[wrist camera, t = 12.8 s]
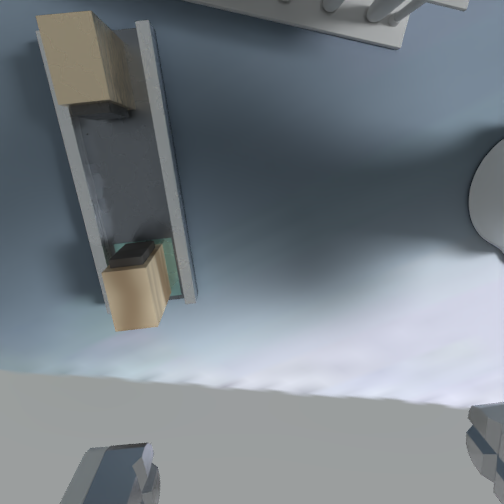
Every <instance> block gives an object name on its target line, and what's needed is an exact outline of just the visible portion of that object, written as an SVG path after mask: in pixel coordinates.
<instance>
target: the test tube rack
mask: <svg viewBox="0 0 504 504" xmlns="http://www.w3.org/2000/svg"><path fill="white" fill-rule="evenodd" d="M183 1H187V2H191V3H196V4H200V5H204V6H209V7H213V8H217V9H222V10H226V11H230V12H235V13H239V14H243V15H248V16H252V17H256V18H261V19H265V20H269V21H274V22H278V23H283V24H287V25H291V26H296V27H300V28H304V29H309V30H313V31H317V32H322V33H326V34H330V35H335V36H339V37H343V38H348V39H352V40H356V41H361V42H365V43H369V44H374V45H378V46H382V47H387V48H391V49H395V50H398V49H400V48H401V45H402V41H403V37H404V33H405V30H406V26H407V22H408V18H409V15H410V13H412V12H413V11H415V10H416V9H417V8H419V7H420V6H421V5H423V4H424V3H426V2H428V3H432V4H436V5H440V6H444V7H448V8H452V9H456V10H460V11H465V10H466V9H467V6H468V3H469V0H183Z"/></svg>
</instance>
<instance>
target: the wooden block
mask: <svg viewBox="0 0 504 504" xmlns="http://www.w3.org/2000/svg"><path fill="white" fill-rule="evenodd" d="M109 264H110V265H109V266H108V267H107V268H106V269H105V270H104V271H103V272H102V273H101V274H102V278H103V282H104V286H105V290H106V294H107V298H108V302H109V306H110V310H111V314H112V318H113V322H114V326H115V331H116V332H117V331H125V330H134V329H142V328H150V327H158V325H159V323H160V320H161V318H162V315H163V312H164V310H165V307H166V305H167V302H168V300H169V297H170V294H171V288H170V283H169V277H168V272H167V266H166V261H165V256H164V250H163V245H162V244H154V241H145V242H136V243H127V244H125V245H124V246H123V247H122V248H121V249H120V250H119V251H118V252H117V253H116V254H115V255H114V256H113V257H111V258H110V259H109Z"/></svg>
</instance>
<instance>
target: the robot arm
mask: <svg viewBox="0 0 504 504" xmlns="http://www.w3.org/2000/svg"><path fill="white" fill-rule="evenodd" d="M469 212H470V217H471V220H472V223H473V225H474V227H475V229H476V230H477V232H478V233H479V234H480V236H481V237H482V238H483V239H485V240H486V241H487V242H489V243H490V244H492V245H494V246H496V247H497V248H499V249H500V250H501V251H502V252H503V254H504V139H503V140H501V141H500V142H499V143H498V144H497V145H496V146H494V147H493V148H492V150H491V151H490V152H489V153H488V154H487V155H486V157H485V158H484V159H483V161H482V162H481V164H480V165H479V167H478V169H477V171H476V173H475V176H474V178H473V181H472V184H471V188H470V193H469ZM468 419H469V420H470V421H471V423H472V424H473V425H472V427H471V428H470V429H469V430H468V431H467V432H466V445H467V449H468V452H469V456H470V458H471V460H472V462H473V464H474V465H475V467H476V468H477V470H478V471H479V472H480V474H481V475H483V476H484V477H486V478H487V479H489V480H490V481H492V482H494V493H495V495H496V496H497V498H498V499H499V501H500V502H501V503H502V504H504V402H499V403H491V404H483V405H475V406H472V407H471V408H470V410H469V414H468ZM153 456H154V451H153V449H152V445H151V444H150V443H139V444H128V445H116V446H109V447H97V448H90V449H89V450H88V451H87V452H86V453H85V454H84V456H83V458H82V460H81V462H80V464H79V466H78V468H77V470H76V472H75V474H74V476H73V478H72V480H71V482H70V484H69V486H68V488H67V491H66V492H65V494H64V496H63V498H62V500H61V502H60V504H158V502H159V496H160V475H159V471H158V467H157V466H156V465H154V464H153V463H152V460H153Z"/></svg>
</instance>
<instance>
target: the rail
mask: <svg viewBox="0 0 504 504" xmlns="http://www.w3.org/2000/svg"><path fill="white" fill-rule="evenodd" d="M36 19H37V23H38V27H39V31H36V35H37V39H38V43H39V47H40V51H41V55H42V59H43V63H44V67H45V70H46V74H47V78H48V82H49V86H50V90H51V94H52V98H53V102H54V106H55V110H56V113H57V117H58V121H59V125H60V129H61V133H62V137H63V141H64V145H65V149H66V153H67V156H68V160H69V164H70V168H71V172H72V176H73V180H74V184H75V188H76V192H77V196H78V199H79V203H80V207H81V211H82V215H83V219H84V223H85V227H86V231H87V235H88V239H89V243H90V246H91V250H92V254H93V258H94V262H95V266H96V270H97V274H98V278H99V282H100V286H101V289H102V293H103V297H104V301H105V305H106V309H107V313H108V314H110V313H111V310H110V306H109V302H108V298H107V294H106V290H105V286H104V282H103V278H102V274H101V273H102V272H103V271H104V270H105V269H106V268H107V267H108V266H109V265H110V264H109V259H110V258H111V257H113V256H114V255H115V254H116V253H117V252H118V251H119V250H120V249H121V248H122V247H123V246H124V245H125V244H127V243H136V242H145V241H154V244H162V245H163V250H164V256H165V261H166V266H167V272H168V277H169V283H170V288H171V294H170V297H169V300H172V299H180V298H185V304H192V303H196V301H197V296H198V289H197V283H196V277H195V271H194V265H193V259H192V252H191V246H190V240H189V234H188V228H187V222H186V216H185V210H184V204H183V198H182V192H181V185H180V179H179V173H178V167H177V161H176V155H175V149H174V143H173V137H172V131H171V125H170V118H169V112H168V106H167V100H166V94H165V88H164V82H163V76H162V70H161V64H160V58H159V51H158V45H157V39H156V33H155V29H154V28H153V26H152V25H151V23H150V21H149V20H143V21H135V24H136V28H132V29H122V30H111V29H110V28H109V27H108V26H107V25H105V24H104V23H103V22H102V21H101V20H100V19H99V18H98V17H97V16H96V15H95V14H94V13H93V12H92V11H82V12H71V13H61V14H51V15H40V16H36Z"/></svg>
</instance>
